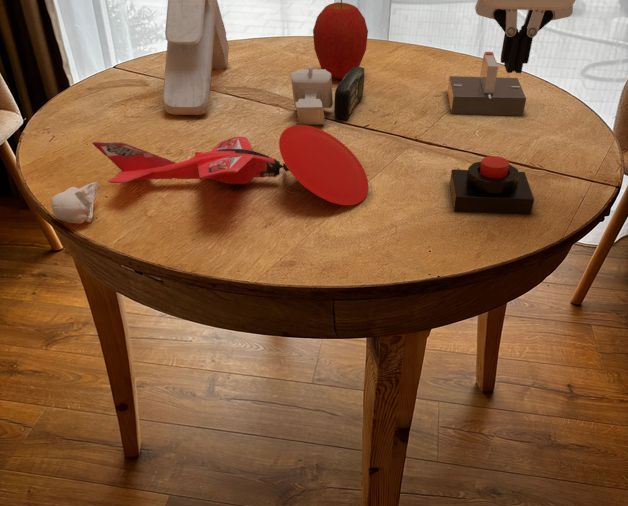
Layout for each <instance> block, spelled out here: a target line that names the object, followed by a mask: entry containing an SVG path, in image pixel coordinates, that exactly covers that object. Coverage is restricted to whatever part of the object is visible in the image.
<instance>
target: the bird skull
mask: <svg viewBox="0 0 628 506" xmlns="http://www.w3.org/2000/svg"><path fill="white" fill-rule="evenodd" d="M97 190H101V186H100V184H99V183H98V182H96V181H93V182H91V183H88V184H85V185H83V186H82V187H80V188H78V187H76V186H70V187H68V188H67V189H66V190H65V191H62V192H60V193H59V192H58V193H57V194H55V195H53V196H52V198H51V199H50V207H51V209H52V210H51V211H52V214H53V216H55V218H56V219H58V220H60V221H62V222H65V223H68V224H83V223H84V222H86V223H91V222H92V220H93V215H94V206H95V201H96V199H97V195H98V191H97Z"/></svg>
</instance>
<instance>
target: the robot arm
mask: <svg viewBox="0 0 628 506" xmlns="http://www.w3.org/2000/svg"><path fill="white" fill-rule="evenodd" d="M575 2H576V0H477V1H476V4H475V7H474V9H475V13H476V15H478V16H480V17H484V18H486V19H492V20H495V22H496V23H497V24H498V26H499V27H500V28H501V30H502V31H503V32H504V36H503V41H502V46H501V53H500V64H504V65H503V66H504V68H505V71H506V73H507V74H513V72H515V73H516V74H522V71H523V67H524V64H525V65H527V64H528V63H529V59H530V56H531V55H530V54H531V50H532V44H533V38H534V37H536V36H537V35H538V33H539V31H540V30H542V29H543V28H544V27H545V26H546V25H548V24H549V23H550V22H551V21H556V20H561V19H566V18H569V17H571V16H572V15H573V13H574V4H575ZM518 10H519V11H520V10H521V11H527V12H526V16H525V18H524V22H523V25H521V27H520V29H518Z"/></svg>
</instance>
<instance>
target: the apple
mask: <svg viewBox="0 0 628 506" xmlns="http://www.w3.org/2000/svg"><path fill="white" fill-rule="evenodd" d="M368 35H369V30H368V26H367V22H366V18H365V17H364V15H363V14H362V13H361V11H360V10H359V8H358V7H357V6H355V5H353V4H351V3H347V2H343V0H340V2H333V3H329V4H328V5H326V6H324V8H323V9H322V10H321V11H320V13H319V14H318V15H317V17H316V19H315V23H314V27H313V30H312V37H313V38H312V39H313V49H314V53H315V55H316V57H317V60H318V64H319V66H320V69H326V71H328V72H330V73H331V78H332V79H334V80H342V79H343V78H344V77H345V75H346V74H347V73H348V72H349V71H351V70H352V69H353V68H354V67H361V63H362V61H363V58H364V56H365V53H366V51H367V45H368Z"/></svg>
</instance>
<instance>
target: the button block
mask: <svg viewBox="0 0 628 506" xmlns="http://www.w3.org/2000/svg"><path fill="white" fill-rule="evenodd" d="M481 161H482V160H480V161H478V162H477V161H475V162H474V163H472V164H471V165H470V166H468V167H467V169H451V171H450V178H449V179H450V180H449V186H450V194H451V199H452V200H451V201H452V207H453V211H454V212H461V213H467V212H468V213H486V214H487V213H491V214H510V215H511V214H512V215H513V214H514V215H531V214H532V210H533V206H534V202H535V198H534V196H533V193H532V190H531V186H530V184H529V181H528V178H527V174H526V172H525V171H519V169H518V168H516V167H515V166H513V165H512V164H510V163H509V169H508V174H507V177H505V178H501V179H499V178H488V177H485V176H483V175H481V174H480V167H481Z"/></svg>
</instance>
